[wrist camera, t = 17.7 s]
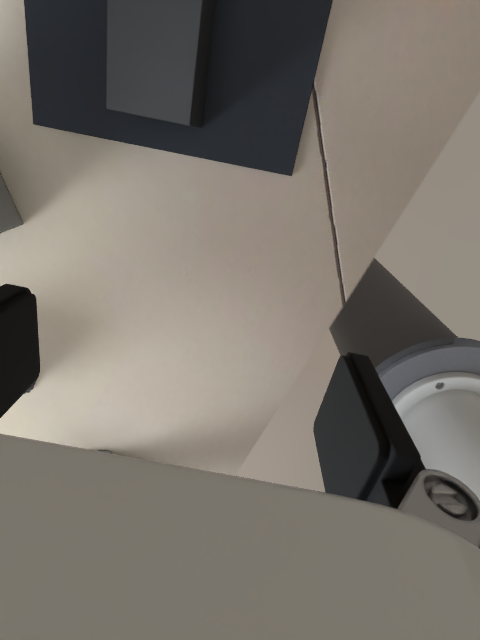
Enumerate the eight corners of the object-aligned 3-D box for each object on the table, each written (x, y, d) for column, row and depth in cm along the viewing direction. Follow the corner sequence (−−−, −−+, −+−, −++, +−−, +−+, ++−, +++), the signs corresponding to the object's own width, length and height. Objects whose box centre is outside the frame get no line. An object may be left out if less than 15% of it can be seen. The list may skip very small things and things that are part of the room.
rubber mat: (346, -64, 22) (348, -67, 22) (291, 175, 28) (291, 176, 28) (15, -146, 21) (12, -150, 20) (35, 124, 27) (33, 124, 27)
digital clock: (139, -71, 22) (104, -139, 16) (222, -51, 22) (214, -112, 17) (132, 114, 26) (103, 108, 21) (201, 128, 27) (189, 126, 21)
